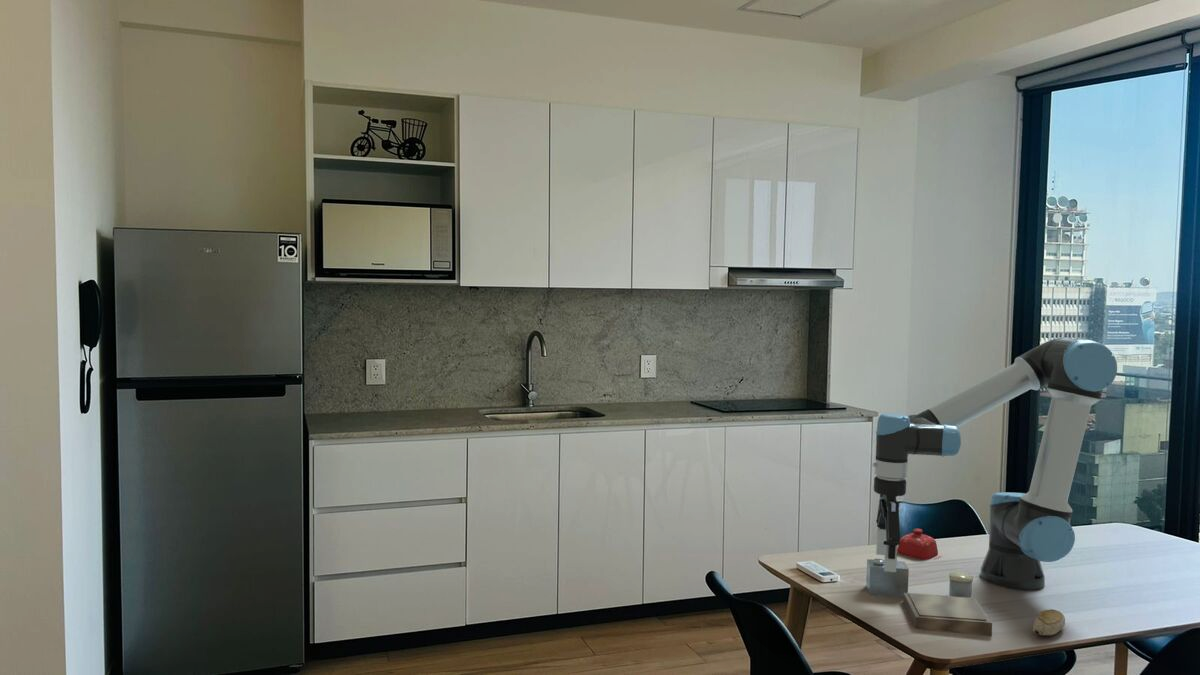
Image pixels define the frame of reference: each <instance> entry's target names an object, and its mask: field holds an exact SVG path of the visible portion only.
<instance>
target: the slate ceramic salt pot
mask: <svg viewBox="0 0 1200 675" xmlns="http://www.w3.org/2000/svg"><path fill="white" fill-rule="evenodd" d="M948 579H949V588H948V590H949V591H948V596H957V597H971V598H972V592H973V590H972V588H973V581H974V577H973V575H972V574H970V573H966V572H962V571H953V572H949V573H948Z"/></svg>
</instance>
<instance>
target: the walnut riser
mask: <svg viewBox="0 0 1200 675" xmlns="http://www.w3.org/2000/svg"><path fill="white" fill-rule="evenodd" d="M902 600H903V605H904V607H905V609H906V611H907V613H908V615H909V619H910V620H911V622H912V624H913V627H914V629H918V630H925V631H926V630H928V631H937V632H947V633H957V634H968V635H978V636H988V637H992V635H993V622H992V621H991V619H990V617H989V616H988V614H987V613H986V612H985V611H984V609H983V608H982V606H981V605H980V603H979V602H978V600H976V597H972V596H971V597H957V596H949V595H942V594H927V593H915V592H914V593H911V592H908V593H904V596H903V598H902Z"/></svg>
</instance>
